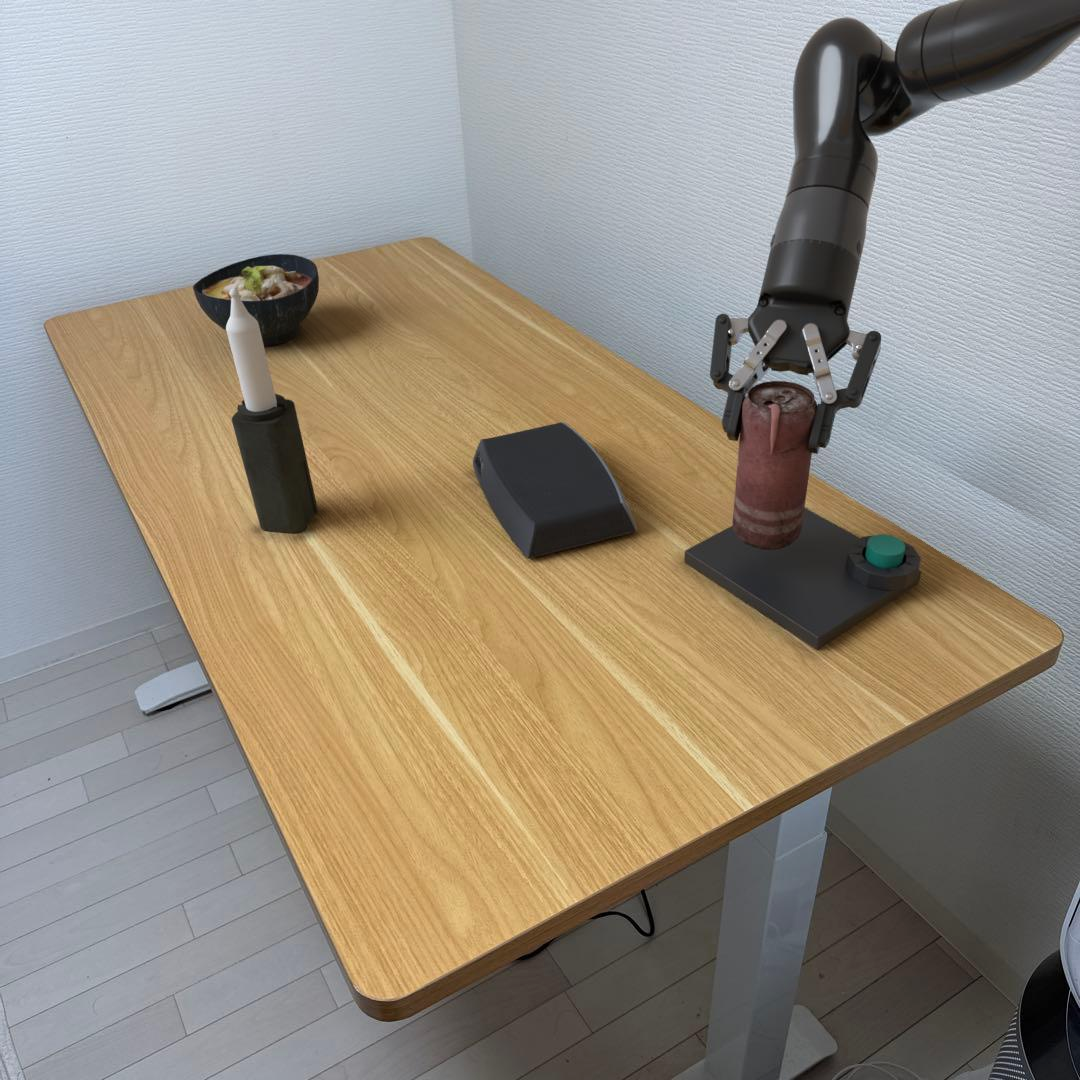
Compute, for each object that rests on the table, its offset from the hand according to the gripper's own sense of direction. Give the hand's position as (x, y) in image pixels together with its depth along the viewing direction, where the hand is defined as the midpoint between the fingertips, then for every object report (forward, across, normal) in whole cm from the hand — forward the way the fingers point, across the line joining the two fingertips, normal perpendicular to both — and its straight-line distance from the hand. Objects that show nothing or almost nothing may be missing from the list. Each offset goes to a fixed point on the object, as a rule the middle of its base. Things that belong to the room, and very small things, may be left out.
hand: (771, 443), depth 80 cm
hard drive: (+6, +23, -15) cm, 28 cm away
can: (+6, 0, -9) cm, 11 cm away
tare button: (+6, -10, -11) cm, 16 cm away
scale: (+9, -3, -12) cm, 15 cm away
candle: (+15, +48, -6) cm, 50 cm away
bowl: (-12, +79, -33) cm, 86 cm away
